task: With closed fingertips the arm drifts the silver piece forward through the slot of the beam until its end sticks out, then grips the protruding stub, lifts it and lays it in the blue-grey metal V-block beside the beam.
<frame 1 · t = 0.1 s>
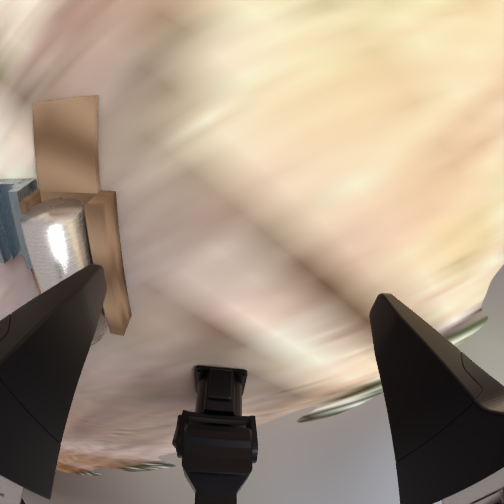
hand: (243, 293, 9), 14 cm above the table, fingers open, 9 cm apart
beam: (80, 256, 25), on the table
silver piece: (78, 260, 25), point 1 cm above the table, touching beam
v block: (21, 216, 22), on the table
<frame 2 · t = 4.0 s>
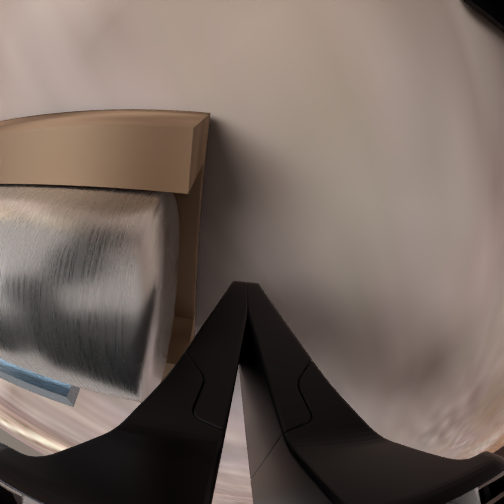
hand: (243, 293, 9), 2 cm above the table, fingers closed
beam: (40, 227, 10), on the table
silver piece: (31, 234, 9), point 1 cm above the table, tilted 7°, touching gripper
v block: (23, 323, 13), on the table
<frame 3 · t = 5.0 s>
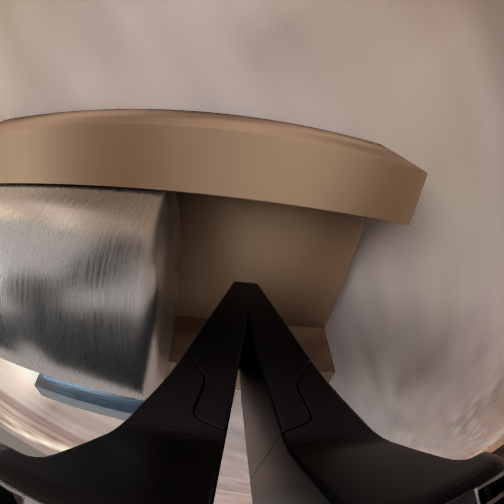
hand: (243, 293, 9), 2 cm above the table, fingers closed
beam: (161, 239, 11), on the table
silver piece: (32, 234, 9), point 1 cm above the table, tilted 7°, touching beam, gripper
v block: (98, 343, 14), on the table
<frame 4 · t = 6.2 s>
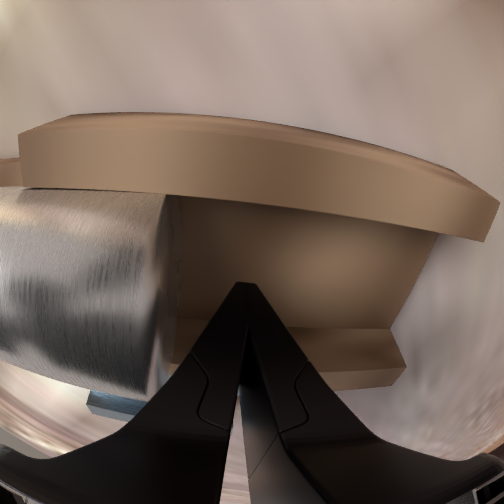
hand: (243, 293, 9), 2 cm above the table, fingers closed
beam: (257, 252, 11), on the table
silver piece: (33, 237, 9), point 1 cm above the table, tilted 8°, touching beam, gripper
v block: (160, 356, 14), on the table
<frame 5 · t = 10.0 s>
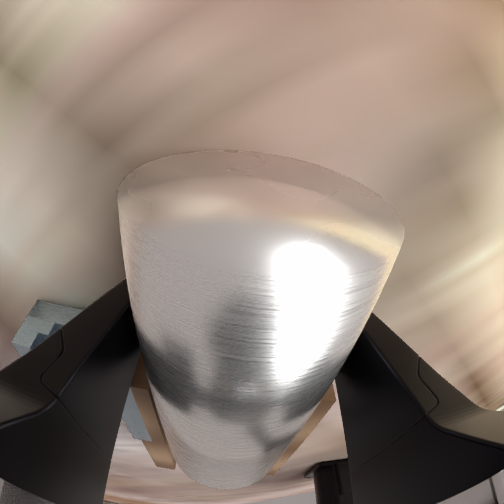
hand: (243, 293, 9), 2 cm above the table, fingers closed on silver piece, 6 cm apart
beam: (220, 409, 17), on the table
silver piece: (231, 318, 11), point 1 cm above the table, touching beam, gripper
v block: (102, 359, 14), on the table
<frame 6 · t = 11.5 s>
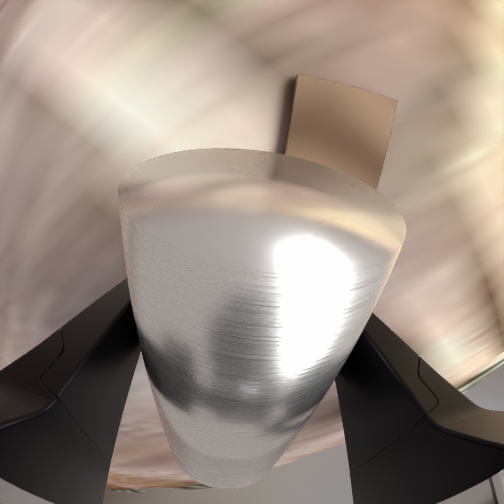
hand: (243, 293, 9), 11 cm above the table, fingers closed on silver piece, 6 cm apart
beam: (302, 285, 23), on the table
silver piece: (232, 317, 11), point 9 cm above the table, touching gripper
when the fingers open (5 cm above the table, at t = 13.2 s): silver piece stays where it is, resting on v block.
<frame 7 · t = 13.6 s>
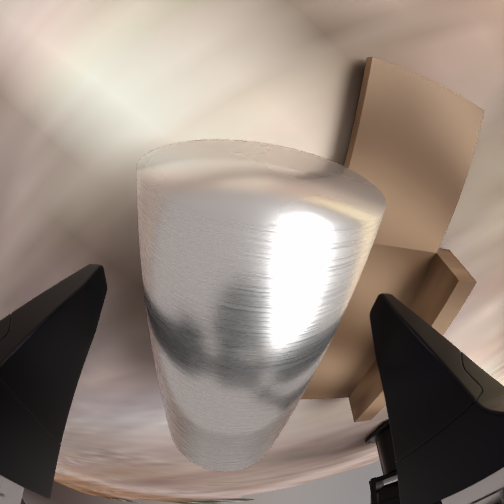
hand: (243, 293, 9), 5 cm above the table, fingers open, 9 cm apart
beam: (341, 336, 17), on the table
silver piece: (236, 300, 12), point 2 cm above the table, touching v block
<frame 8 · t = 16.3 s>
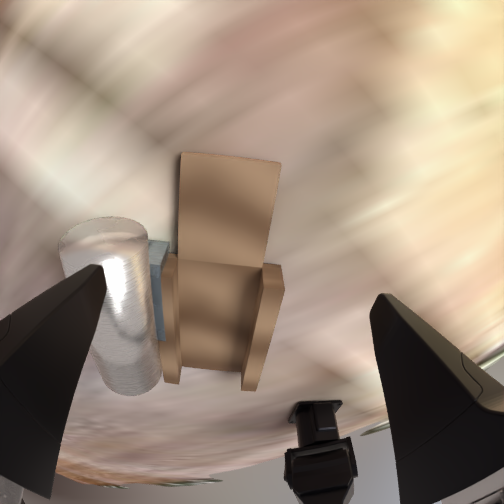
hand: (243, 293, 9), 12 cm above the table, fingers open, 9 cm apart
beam: (214, 321, 26), on the table
silver piece: (128, 292, 21), point 2 cm above the table, touching v block
v block: (136, 279, 24), on the table
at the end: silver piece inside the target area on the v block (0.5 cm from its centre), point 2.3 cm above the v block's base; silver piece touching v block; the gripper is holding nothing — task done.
